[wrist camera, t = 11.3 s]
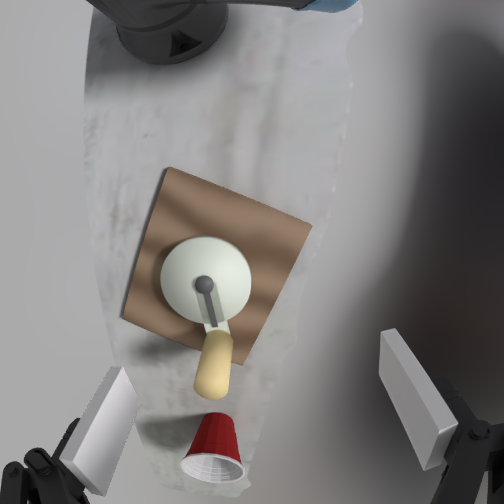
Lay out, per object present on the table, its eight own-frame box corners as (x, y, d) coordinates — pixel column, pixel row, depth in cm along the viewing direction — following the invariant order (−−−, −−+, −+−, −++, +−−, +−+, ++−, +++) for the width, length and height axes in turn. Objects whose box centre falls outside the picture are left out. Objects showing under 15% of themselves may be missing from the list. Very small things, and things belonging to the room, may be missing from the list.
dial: (155, 243, 41) (120, 275, 30) (242, 228, 40) (237, 258, 29) (185, 348, 46) (168, 401, 35) (263, 340, 45) (265, 394, 34)
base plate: (170, 166, 39) (167, 167, 38) (310, 224, 41) (312, 226, 40) (124, 315, 46) (121, 319, 45) (242, 361, 48) (242, 366, 47)
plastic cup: (188, 434, 54) (178, 480, 43) (191, 398, 51) (179, 449, 40) (242, 442, 55) (240, 490, 43) (251, 408, 51) (250, 460, 40)
